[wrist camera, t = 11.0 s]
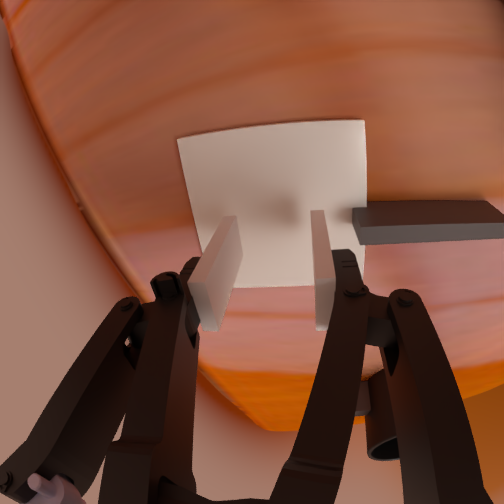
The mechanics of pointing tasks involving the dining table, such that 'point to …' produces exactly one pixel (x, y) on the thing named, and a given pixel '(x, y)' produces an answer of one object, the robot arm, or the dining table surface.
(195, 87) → the dining table surface
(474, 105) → the dining table surface
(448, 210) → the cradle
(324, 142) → the plate
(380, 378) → the mug
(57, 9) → the dining table surface
